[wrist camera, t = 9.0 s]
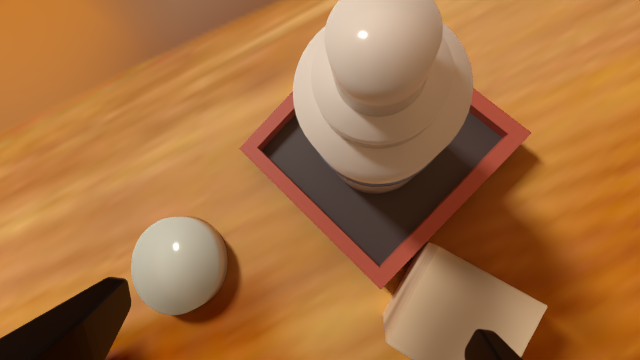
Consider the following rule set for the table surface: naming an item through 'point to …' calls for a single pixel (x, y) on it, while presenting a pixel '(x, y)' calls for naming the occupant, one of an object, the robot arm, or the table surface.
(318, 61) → the white sake bottle
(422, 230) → the lacquer tray
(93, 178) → the table surface
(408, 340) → the wooden masu box
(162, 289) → the glossy white dome
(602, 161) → the table surface
